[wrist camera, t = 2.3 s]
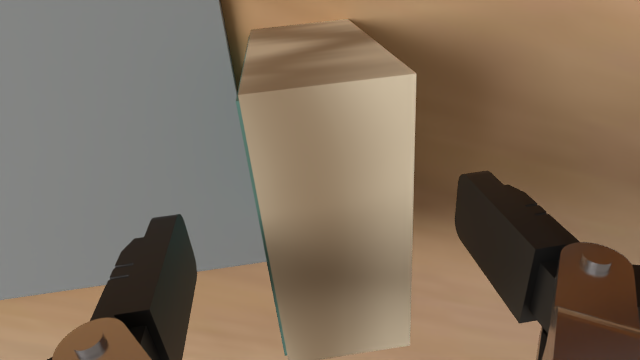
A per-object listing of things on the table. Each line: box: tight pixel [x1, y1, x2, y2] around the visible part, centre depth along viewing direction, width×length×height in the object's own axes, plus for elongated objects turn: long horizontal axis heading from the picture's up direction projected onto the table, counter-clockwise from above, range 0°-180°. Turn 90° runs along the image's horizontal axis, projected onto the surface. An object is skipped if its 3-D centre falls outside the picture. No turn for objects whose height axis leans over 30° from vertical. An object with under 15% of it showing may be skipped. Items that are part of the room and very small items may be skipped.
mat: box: [0, 0, 267, 300], centre depth 18 cm, size 16×14×1 cm
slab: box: [236, 19, 416, 360], centre depth 15 cm, size 4×9×9 cm, turn 5°
